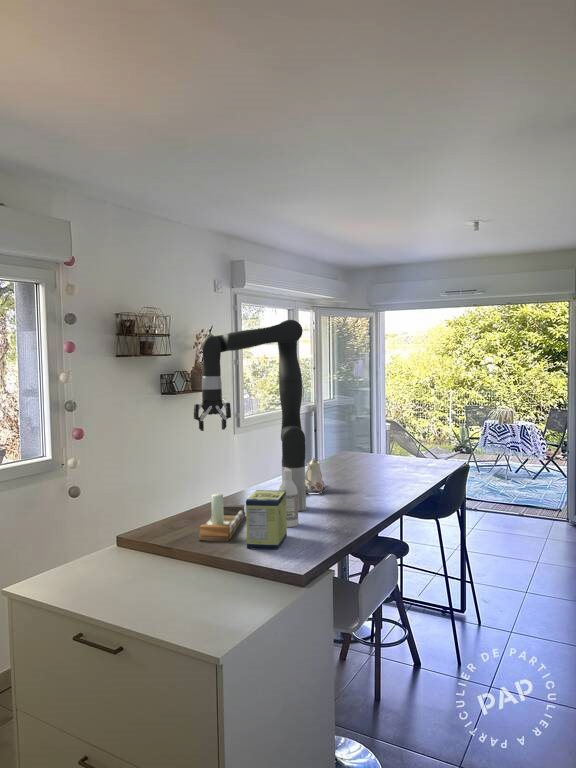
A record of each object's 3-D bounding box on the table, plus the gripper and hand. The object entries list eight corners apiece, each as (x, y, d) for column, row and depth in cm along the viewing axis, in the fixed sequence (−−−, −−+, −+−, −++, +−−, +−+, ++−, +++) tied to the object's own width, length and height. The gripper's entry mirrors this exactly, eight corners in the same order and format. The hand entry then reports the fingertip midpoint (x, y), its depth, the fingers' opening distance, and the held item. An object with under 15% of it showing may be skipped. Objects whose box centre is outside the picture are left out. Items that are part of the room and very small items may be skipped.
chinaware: (305, 488, 281) (301, 453, 281) (337, 487, 274) (333, 451, 274) (278, 501, 256) (274, 463, 256) (313, 500, 249) (309, 461, 249)
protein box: (287, 535, 199) (286, 490, 198) (278, 550, 183) (277, 500, 183) (257, 534, 201) (256, 489, 200) (246, 548, 185) (245, 500, 185)
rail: (219, 515, 226) (219, 504, 226) (245, 516, 225) (244, 504, 225) (198, 541, 194) (198, 527, 194) (228, 541, 193) (228, 527, 193)
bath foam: (301, 526, 210) (300, 470, 209) (284, 528, 207) (283, 472, 206) (293, 521, 216) (291, 467, 215) (275, 524, 213) (274, 469, 212)
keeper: (210, 527, 204) (209, 493, 204) (229, 527, 203) (229, 493, 203) (205, 532, 198) (205, 497, 198) (226, 532, 197) (225, 497, 197)
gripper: (196, 389, 219) (197, 432, 220) (232, 387, 225) (233, 429, 226) (191, 388, 226) (192, 430, 227) (226, 387, 232) (227, 428, 232)
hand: (212, 430), depth 226 cm, fingers open, 8 cm apart
